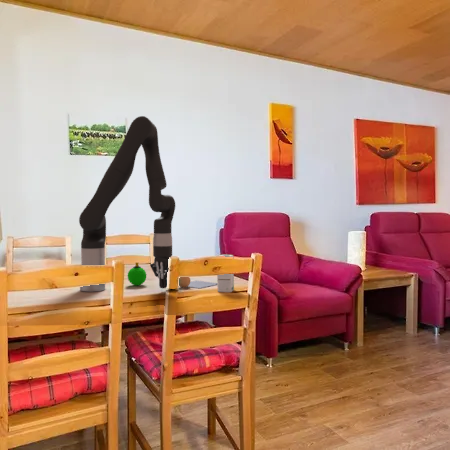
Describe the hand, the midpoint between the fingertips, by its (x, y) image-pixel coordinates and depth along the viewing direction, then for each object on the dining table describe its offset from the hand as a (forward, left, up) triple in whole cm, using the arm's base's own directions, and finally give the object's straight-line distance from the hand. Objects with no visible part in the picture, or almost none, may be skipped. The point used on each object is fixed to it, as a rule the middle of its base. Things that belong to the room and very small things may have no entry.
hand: (162, 287), depth 167 cm
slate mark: (+13, +16, -2) cm, 21 cm away
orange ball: (+8, +9, +1) cm, 12 cm away
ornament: (-13, +15, -2) cm, 20 cm away
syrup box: (+25, +1, -2) cm, 25 cm away
